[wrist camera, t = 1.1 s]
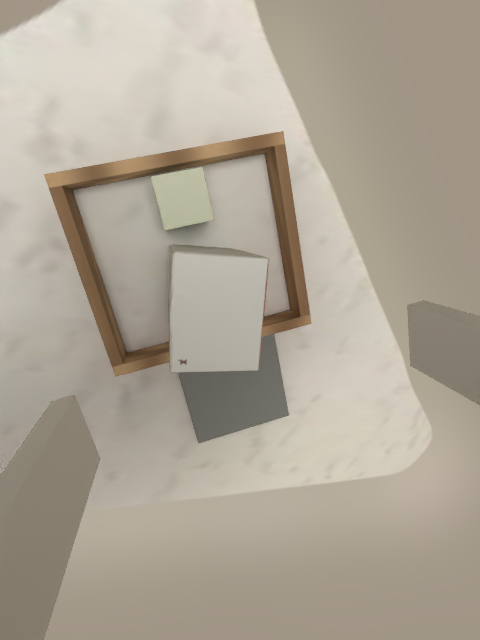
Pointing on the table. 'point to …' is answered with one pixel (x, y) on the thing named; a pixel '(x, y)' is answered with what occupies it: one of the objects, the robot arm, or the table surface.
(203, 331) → the small box
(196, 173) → the sage block
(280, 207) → the bin
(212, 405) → the mat
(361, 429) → the table surface
